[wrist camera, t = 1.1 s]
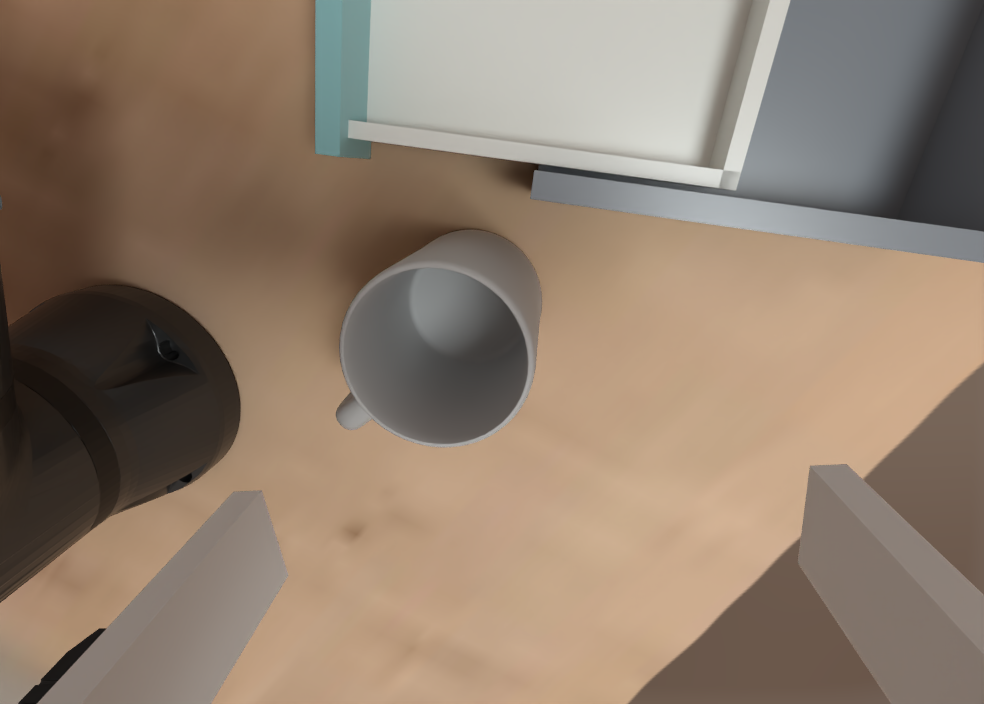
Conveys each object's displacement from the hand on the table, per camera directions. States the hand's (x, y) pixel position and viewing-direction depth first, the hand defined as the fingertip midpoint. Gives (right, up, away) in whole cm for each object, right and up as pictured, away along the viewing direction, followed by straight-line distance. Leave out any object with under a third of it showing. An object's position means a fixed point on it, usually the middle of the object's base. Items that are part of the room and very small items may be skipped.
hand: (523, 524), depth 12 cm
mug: (-3, +7, +20) cm, 21 cm away
